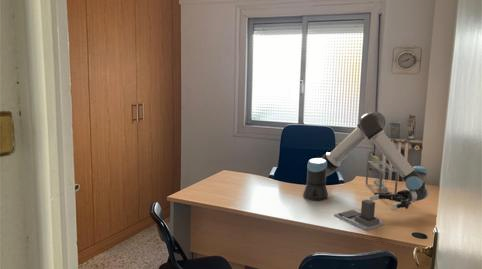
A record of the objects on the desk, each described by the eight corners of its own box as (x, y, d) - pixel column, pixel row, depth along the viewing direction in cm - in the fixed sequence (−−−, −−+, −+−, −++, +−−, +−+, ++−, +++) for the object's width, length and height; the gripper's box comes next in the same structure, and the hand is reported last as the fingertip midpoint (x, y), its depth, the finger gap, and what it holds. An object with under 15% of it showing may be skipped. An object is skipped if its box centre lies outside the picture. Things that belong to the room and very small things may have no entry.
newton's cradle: (365, 184, 257) (367, 159, 254) (380, 185, 256) (382, 160, 253) (378, 199, 227) (381, 171, 224) (396, 199, 227) (398, 171, 224)
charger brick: (360, 221, 190) (361, 200, 188) (365, 219, 192) (367, 199, 190) (368, 224, 186) (369, 203, 184) (373, 223, 188) (375, 201, 186)
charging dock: (333, 216, 199) (334, 209, 198) (352, 211, 206) (352, 205, 205) (365, 230, 181) (365, 223, 180) (383, 224, 188) (384, 218, 188)
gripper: (426, 210, 194) (401, 217, 183) (386, 196, 215) (361, 202, 204) (428, 196, 192) (402, 203, 181) (387, 183, 213) (362, 189, 202)
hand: (380, 202), depth 192 cm, fingers open, 13 cm apart
